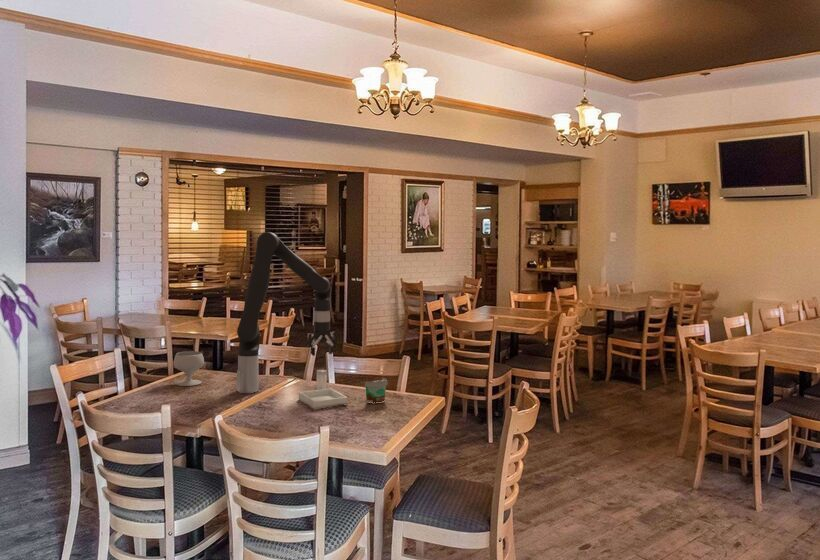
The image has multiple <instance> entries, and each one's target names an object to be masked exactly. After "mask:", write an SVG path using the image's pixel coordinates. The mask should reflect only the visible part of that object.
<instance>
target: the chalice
mask: <svg viewBox="0 0 820 560" xmlns="http://www.w3.org/2000/svg"><path fill="white" fill-rule="evenodd" d="M204 364H205V358H204V356H203V353H202V352H201V351H198V350H197V351H193V350H191V351H190V350H189V351H187V350H186V351H179V352H177V353H175V355H174V359H173V366H174V367H175V369H176V370H179V371H181V372H183V373H184V374H185V375H186V379H184V380H179V381H177V382H176V383H175V385H176V386H180V387H193V386H194V387H195V386H197V385H201V384H203V381H201V380H198V379H192V375H193V374H194V373H195V372H197V371H198V370H199V369H202V367H203V366H204Z"/></svg>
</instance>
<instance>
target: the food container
mask: <svg viewBox="0 0 820 560" xmlns="http://www.w3.org/2000/svg"><path fill="white" fill-rule="evenodd" d="M388 385H389V384H388V380H387V378H386V377H383V376H382V377H381V379H377V380H375V379H374V380H372V381H365V382H364V387H365V397H366V399H365V400H366V403H367V402H373V403H374V402H375V403H376V402H382V401H384V400H385V398H386V389H387V386H388ZM384 402H385V401H384Z"/></svg>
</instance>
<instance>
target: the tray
mask: <svg viewBox="0 0 820 560" xmlns="http://www.w3.org/2000/svg"><path fill="white" fill-rule="evenodd" d="M348 398H349V397H348V396H346V395H345V394H342V393H340V392H339V391H337V390H335V389H333V388H326V389H323V390H317V389H316V390H306V391H301V392H300V391H299V392H298V401H300V402H302V404H305V405H306V406H308V407H309V408H310V409H312V410H321V408H323V409H327V408H326V407H330V408H333V407H332V406H338V405H344V404H348V403H349V402H348ZM348 405H349V404H348ZM338 407H339V406H338Z"/></svg>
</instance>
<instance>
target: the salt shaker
mask: <svg viewBox="0 0 820 560" xmlns="http://www.w3.org/2000/svg"><path fill="white" fill-rule="evenodd" d="M327 372H328V371H327V369H316V390H323V389H327V384H328V383H327V377H328V376H327V374H328V373H327Z"/></svg>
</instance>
